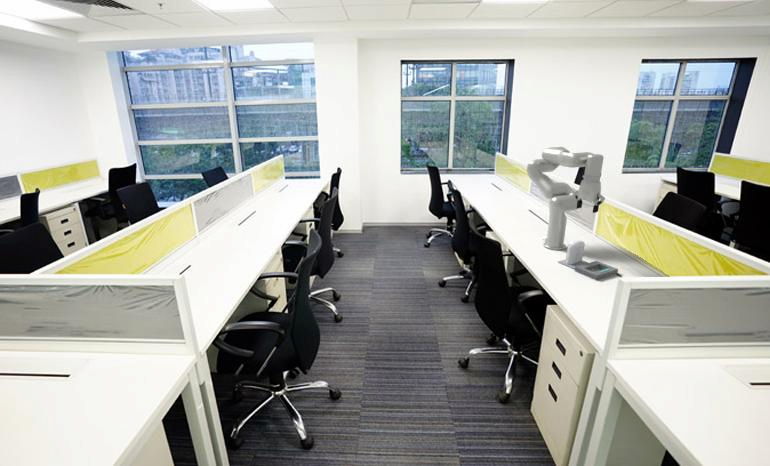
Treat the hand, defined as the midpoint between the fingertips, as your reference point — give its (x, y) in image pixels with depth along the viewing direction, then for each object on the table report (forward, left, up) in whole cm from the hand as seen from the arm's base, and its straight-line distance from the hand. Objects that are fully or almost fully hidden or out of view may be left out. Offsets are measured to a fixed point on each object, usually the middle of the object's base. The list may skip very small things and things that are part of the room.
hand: (586, 210), depth 194 cm
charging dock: (+16, -8, -28) cm, 33 cm away
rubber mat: (+3, -8, -28) cm, 29 cm away
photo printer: (+3, -8, -28) cm, 29 cm away
